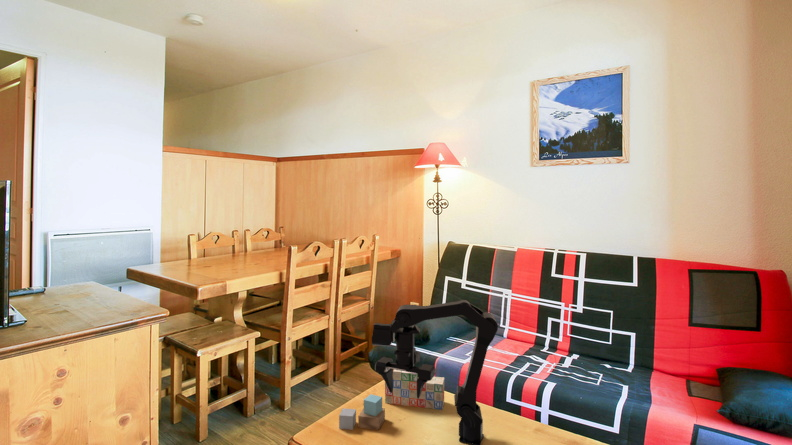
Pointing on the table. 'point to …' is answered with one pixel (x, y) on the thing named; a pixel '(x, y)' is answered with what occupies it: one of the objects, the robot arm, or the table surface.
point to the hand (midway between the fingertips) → (404, 395)
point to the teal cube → (373, 405)
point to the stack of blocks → (415, 391)
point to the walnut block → (371, 420)
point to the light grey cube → (347, 419)
